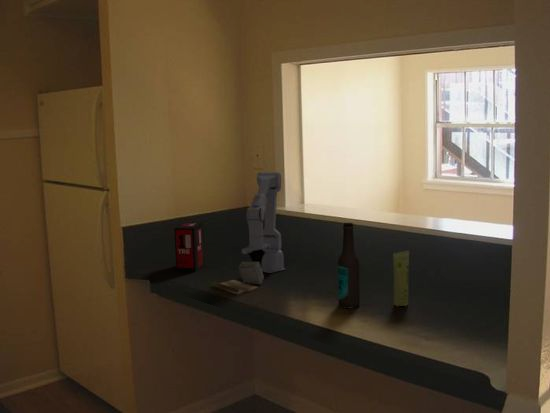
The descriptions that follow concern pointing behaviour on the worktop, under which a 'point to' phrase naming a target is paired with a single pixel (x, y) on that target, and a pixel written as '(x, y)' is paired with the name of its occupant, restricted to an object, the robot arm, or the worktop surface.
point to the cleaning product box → (189, 246)
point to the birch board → (234, 286)
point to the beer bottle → (348, 271)
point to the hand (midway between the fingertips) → (257, 268)
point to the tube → (401, 278)
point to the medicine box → (251, 272)
